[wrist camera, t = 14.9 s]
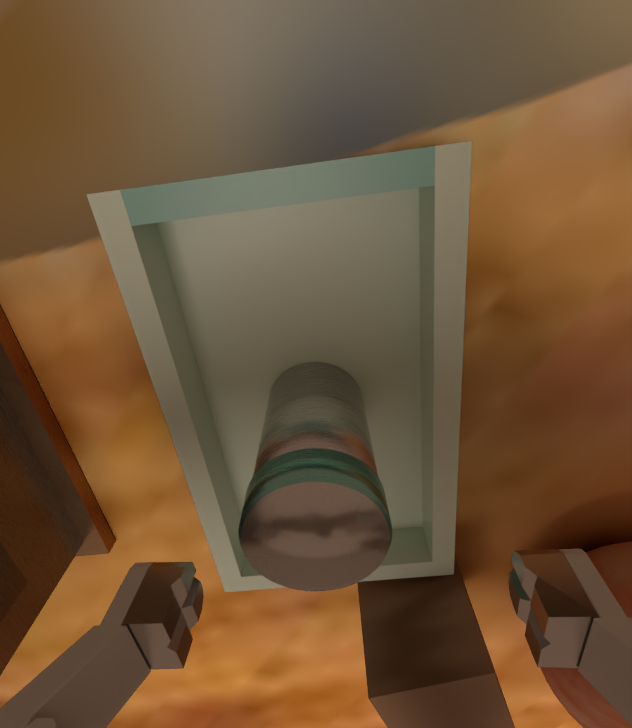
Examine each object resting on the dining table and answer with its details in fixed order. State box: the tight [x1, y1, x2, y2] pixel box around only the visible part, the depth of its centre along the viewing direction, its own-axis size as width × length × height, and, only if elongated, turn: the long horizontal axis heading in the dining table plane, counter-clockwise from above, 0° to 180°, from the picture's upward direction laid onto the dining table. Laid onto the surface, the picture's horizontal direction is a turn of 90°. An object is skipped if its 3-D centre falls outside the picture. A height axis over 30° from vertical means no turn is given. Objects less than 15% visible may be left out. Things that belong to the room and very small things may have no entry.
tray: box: [87, 141, 472, 592], centre depth 16 cm, size 11×18×3 cm, turn 7°
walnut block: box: [358, 557, 515, 728], centre depth 20 cm, size 5×5×7 cm
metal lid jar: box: [238, 362, 392, 591], centre depth 14 cm, size 4×4×7 cm
